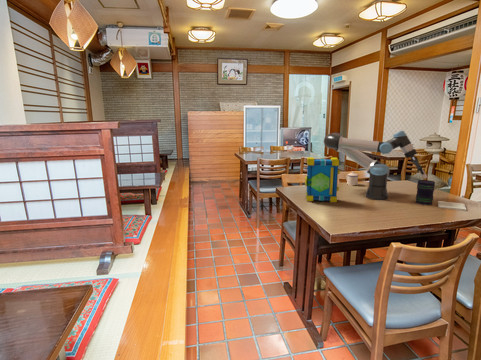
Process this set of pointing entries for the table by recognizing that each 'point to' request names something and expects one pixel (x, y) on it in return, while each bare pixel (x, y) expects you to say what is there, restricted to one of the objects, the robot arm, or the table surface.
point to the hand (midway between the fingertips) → (425, 177)
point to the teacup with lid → (352, 179)
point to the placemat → (452, 205)
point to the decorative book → (322, 179)
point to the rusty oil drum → (425, 192)
